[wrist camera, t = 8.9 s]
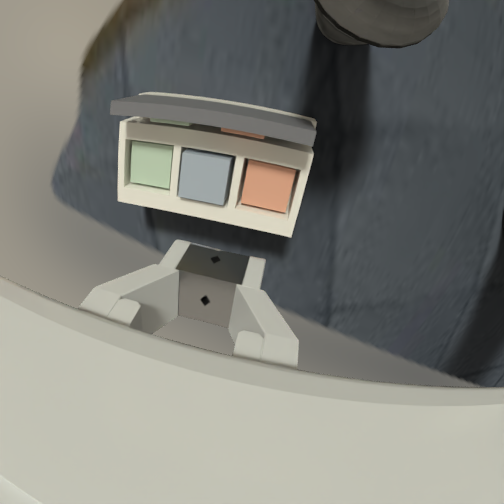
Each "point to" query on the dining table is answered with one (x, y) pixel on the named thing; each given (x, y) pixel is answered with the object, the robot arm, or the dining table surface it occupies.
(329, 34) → the beverage cup
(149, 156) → the key sage
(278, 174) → the key terracotta
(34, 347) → the robot arm
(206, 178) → the key slate
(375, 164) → the dining table surface
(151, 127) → the keypad console
